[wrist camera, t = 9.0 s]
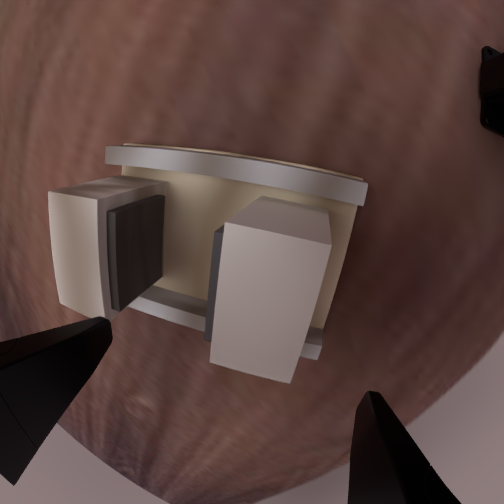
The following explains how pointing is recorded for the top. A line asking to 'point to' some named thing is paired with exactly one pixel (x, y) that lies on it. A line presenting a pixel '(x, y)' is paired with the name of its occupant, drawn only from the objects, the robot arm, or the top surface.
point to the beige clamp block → (180, 229)
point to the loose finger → (265, 285)
